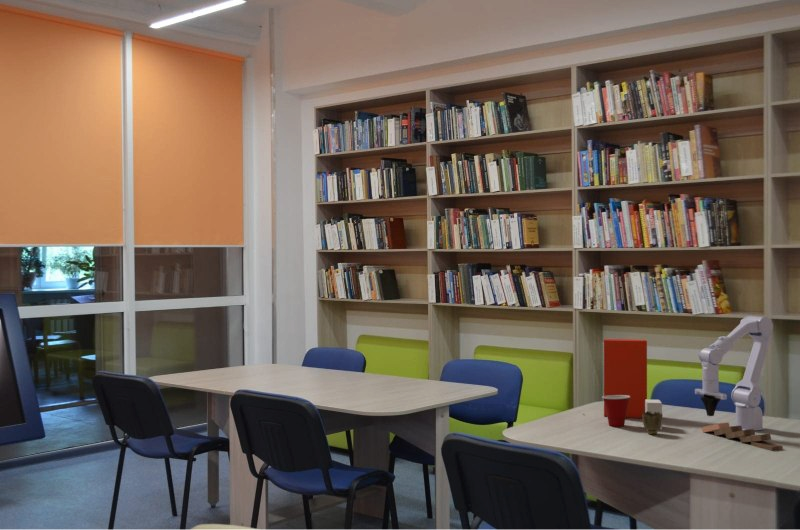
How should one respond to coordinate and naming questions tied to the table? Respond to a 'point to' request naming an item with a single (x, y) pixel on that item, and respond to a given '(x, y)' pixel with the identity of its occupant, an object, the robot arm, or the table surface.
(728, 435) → the domino
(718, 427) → the domino
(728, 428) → the domino
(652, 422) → the cup
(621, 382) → the tall red box
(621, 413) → the plastic cup
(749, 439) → the domino
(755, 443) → the domino
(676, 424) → the table surface
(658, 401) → the small box
